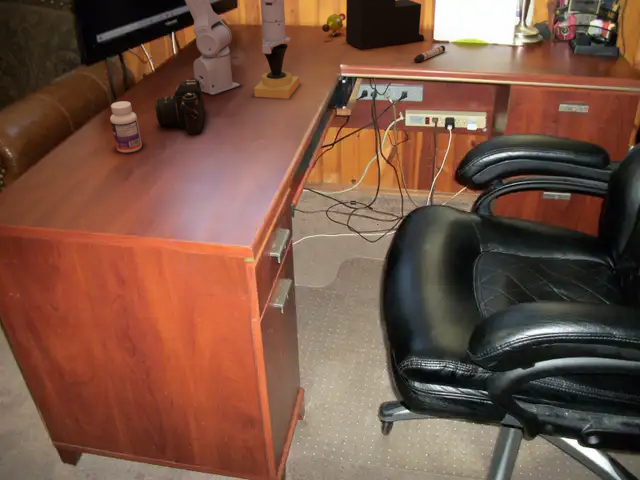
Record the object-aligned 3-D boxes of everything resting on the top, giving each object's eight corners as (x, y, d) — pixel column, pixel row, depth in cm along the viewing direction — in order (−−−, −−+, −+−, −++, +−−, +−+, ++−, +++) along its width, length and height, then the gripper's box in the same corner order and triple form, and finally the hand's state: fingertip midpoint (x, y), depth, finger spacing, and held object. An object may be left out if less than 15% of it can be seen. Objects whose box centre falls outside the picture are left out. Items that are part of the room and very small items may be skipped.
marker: (439, 51, 189) (440, 44, 188) (445, 52, 188) (445, 45, 187) (410, 63, 180) (411, 56, 179) (416, 64, 179) (417, 57, 178)
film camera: (150, 115, 148) (142, 74, 143) (200, 107, 153) (195, 67, 147) (166, 142, 135) (159, 98, 129) (221, 132, 139) (216, 89, 134)
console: (288, 98, 157) (287, 83, 155) (254, 96, 158) (253, 81, 156) (299, 84, 166) (298, 69, 164) (267, 82, 167) (266, 68, 165)
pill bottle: (119, 143, 135) (110, 100, 130) (144, 142, 135) (136, 99, 130) (114, 153, 130) (104, 109, 125) (140, 152, 131) (131, 108, 125)
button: (283, 85, 158) (282, 77, 157) (265, 84, 159) (265, 76, 158) (287, 79, 162) (287, 71, 161) (270, 78, 163) (270, 70, 162)
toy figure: (333, 42, 200) (333, 21, 196) (317, 41, 202) (317, 20, 198) (351, 29, 214) (351, 9, 210) (336, 28, 216) (336, 8, 212)
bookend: (406, 33, 208) (410, -43, 195) (424, 40, 200) (430, -39, 187) (345, 42, 200) (345, -36, 187) (361, 50, 192) (362, -31, 179)
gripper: (280, 27, 146) (283, 84, 153) (296, 13, 158) (298, 66, 165) (252, 26, 147) (256, 82, 154) (269, 12, 159) (273, 65, 166)
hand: (276, 74), depth 160 cm, fingers closed, pressing on button
